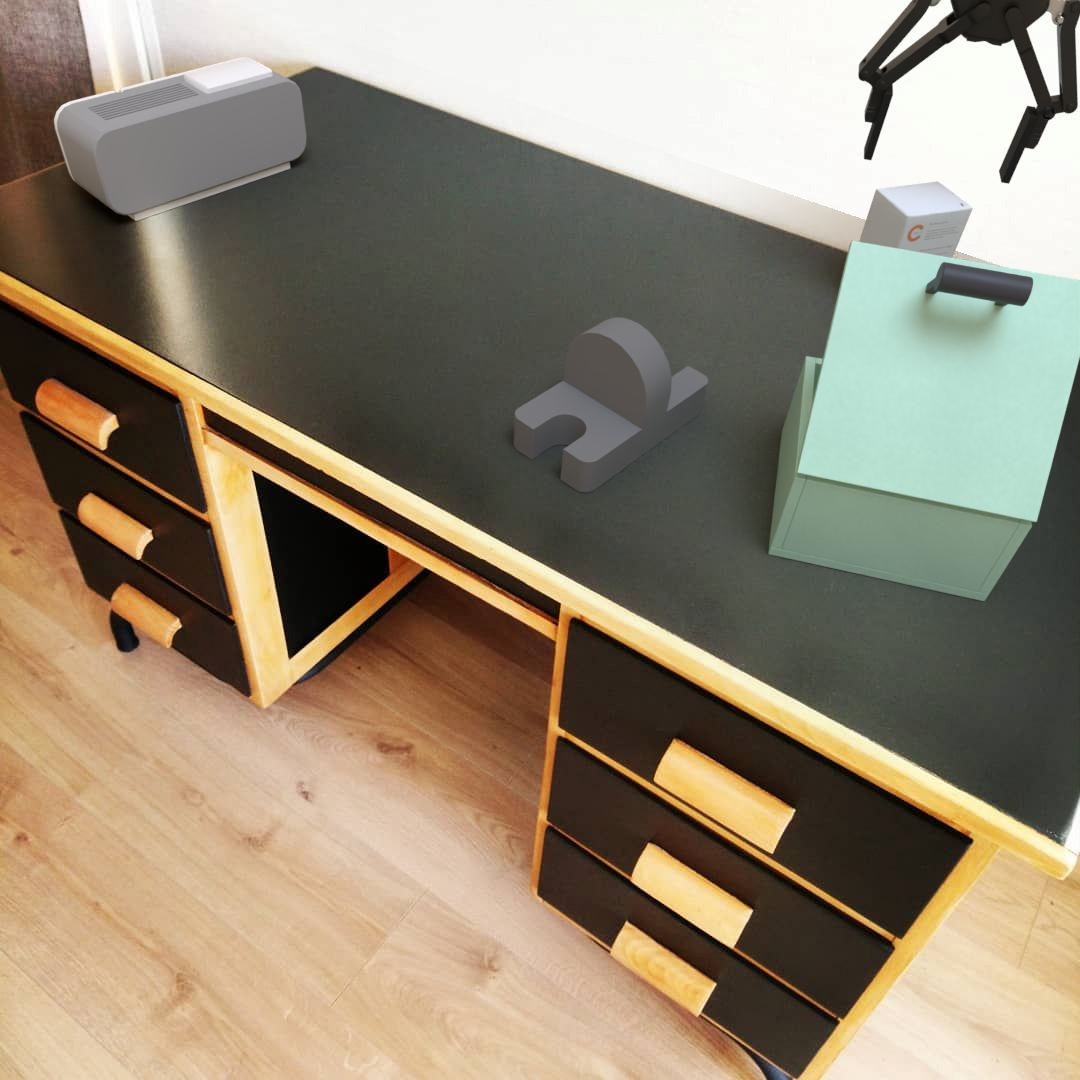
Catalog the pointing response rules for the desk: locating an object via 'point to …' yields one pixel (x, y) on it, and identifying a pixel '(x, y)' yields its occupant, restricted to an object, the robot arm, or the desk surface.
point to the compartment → (882, 523)
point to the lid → (944, 380)
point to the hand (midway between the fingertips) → (935, 166)
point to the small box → (917, 219)
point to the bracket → (609, 404)
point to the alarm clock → (182, 136)
